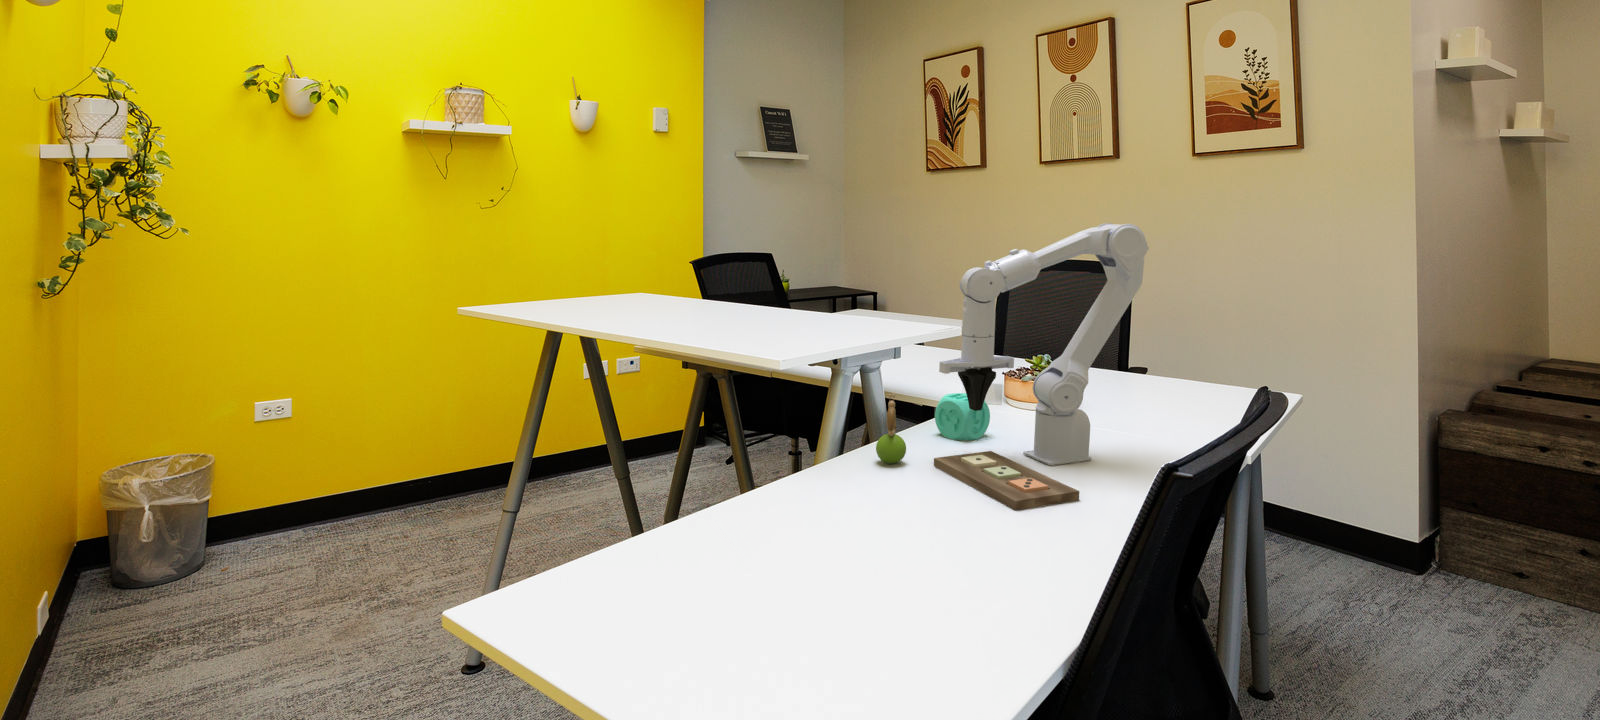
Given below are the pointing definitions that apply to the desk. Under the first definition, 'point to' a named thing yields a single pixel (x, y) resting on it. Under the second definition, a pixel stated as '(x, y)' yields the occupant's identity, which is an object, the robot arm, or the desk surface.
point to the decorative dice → (961, 418)
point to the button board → (1006, 482)
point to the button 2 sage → (1002, 472)
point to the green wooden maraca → (891, 439)
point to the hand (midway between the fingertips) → (975, 409)
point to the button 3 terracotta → (1028, 485)
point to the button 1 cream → (978, 461)
